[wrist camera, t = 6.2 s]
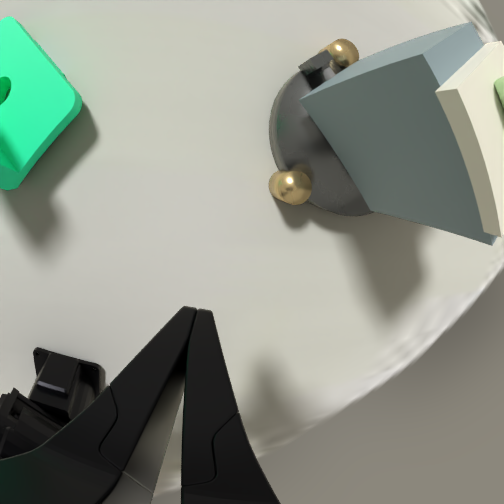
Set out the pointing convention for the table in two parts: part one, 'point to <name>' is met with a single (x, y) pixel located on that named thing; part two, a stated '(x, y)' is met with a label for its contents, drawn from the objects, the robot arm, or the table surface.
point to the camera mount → (29, 103)
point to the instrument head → (423, 130)
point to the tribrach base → (311, 142)
